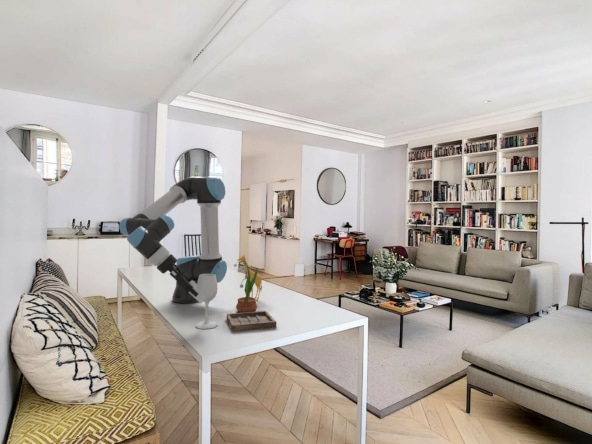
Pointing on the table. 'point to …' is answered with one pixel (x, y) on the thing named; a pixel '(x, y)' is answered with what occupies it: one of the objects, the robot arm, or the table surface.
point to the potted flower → (246, 291)
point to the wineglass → (207, 296)
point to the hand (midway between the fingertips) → (202, 296)
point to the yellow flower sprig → (257, 281)
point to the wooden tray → (250, 321)
